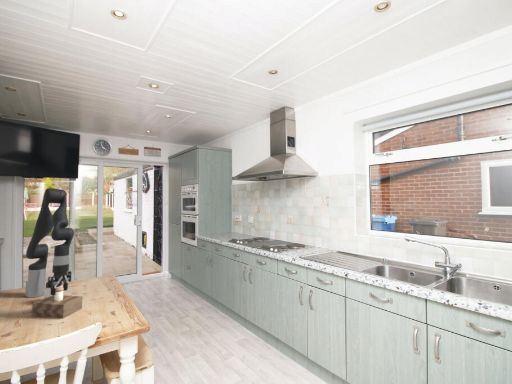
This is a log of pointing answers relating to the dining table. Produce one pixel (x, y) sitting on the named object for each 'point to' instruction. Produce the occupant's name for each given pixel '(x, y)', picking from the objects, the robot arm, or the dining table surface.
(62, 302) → the socket block
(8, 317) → the dining table surface
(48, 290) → the jar
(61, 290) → the plug
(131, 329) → the dining table surface
